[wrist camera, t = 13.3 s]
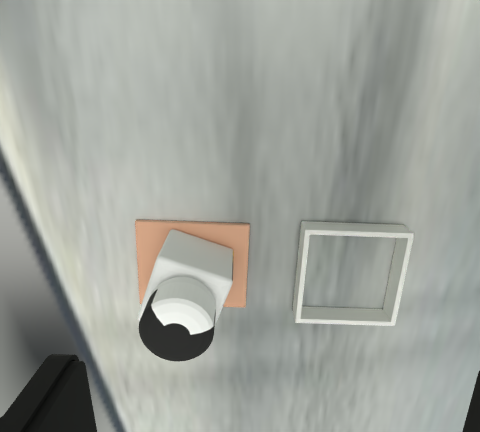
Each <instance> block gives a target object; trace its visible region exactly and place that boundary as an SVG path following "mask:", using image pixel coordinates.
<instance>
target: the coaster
mask: <svg viewBox="0 0 480 432" xmlns="http://www.w3.org/2000/svg"><path fill="white" fill-rule="evenodd" d="M135 227H136V244H137V261H138V278H139V295H140V304H142V301H143V298H144V295H145V292H146V289H147V286H148V283H149V280H150V277H151V274H152V271H153V268H154V265H155V262H156V258H157V256H158V254H159V252H160V250H161V248H162V246H163V244H164V242H165V240H166V238H167V236H168V234H169V231H170V230H172V229H175V230H178V231H181V232H184V233H186V234H189V235H192V236H195V237H198V238H201V239H204V240H207V241H210V242H213V243H216V244H219V245H222V246H225V247H228V248H231V249H233V251H234V258H233V283H232V286H231V288H230V291H229V293H228V296H227V298H226V300H225V303H224V305H223V307H245V306H246V287H247V267H248V248H249V229H250V224H247V223H219V222H192V221H164V220H136V221H135Z"/></svg>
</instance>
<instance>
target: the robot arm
mask: <svg viewBox="0 0 480 432" xmlns="http://www.w3.org/2000/svg"><path fill="white" fill-rule="evenodd" d="M0 432H97V429H96V423H95V417H94V412H93V406H92V400H91V395H90V389H89V383H88V377H87V371H86V366H85V363H84V362H83V361H79V359H78V357H77V356H76V355H60V354H58V355H57V354H52V355H50V356H48V357H47V358H46V359H45V361H44V362H43V364H42V365H41V366H40V368H39V369H38V370H37V372H36V373H35V374H34V376H33V377H32V378H31V380H30V381H29V382H28V384H27V385H26V386H25V388H24V389H23V390H22V392H21V393H20V394H19V396H18V397H17V398H16V400H15V401H14V402H13V404H12V405H11V406H10V408H9V409H8V410H7V412H6V413H5V414H4V416H2V417H1V418H0ZM463 432H480V371H479V373H478V377H477V380H476V384H475V388H474V391H473V395H472V399H471V402H470V406H469V410H468V413H467V417H466V421H465V425H464V428H463Z"/></svg>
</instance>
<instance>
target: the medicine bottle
mask: <svg viewBox="0 0 480 432" xmlns="http://www.w3.org/2000/svg"><path fill="white" fill-rule="evenodd" d="M233 258H234V251H233V249H231V248H228V247H225V246H222V245H219V244H216V243H213V242H210V241H207V240H204V239H201V238H198V237H195V236H192V235H189V234H186V233H184V232H181V231H178V230H175V229H172V230H170V231H169V234H168V236H167V238H166V240H165V242H164V244H163V246H162V248H161V250H160V252H159V254H158V256H157V258H156V262H155V265H154V268H153V271H152V274H151V277H150V280H149V283H148V286H147V289H146V292H145V295H144V298H143V301H142V304H141V307H140V310H139V314H138V321H140V322H139V333H140V337H141V339H142V341H143V343H144V345H145V346H146V347H147V348H148V349H149V350H150V351H151V352H152V353H154V354H155V355H156V356H158V357H160V358H163V359H166V360H169V361H186V360H190V359H193V358H195V357H197V356H199V355H201V354H202V353H203V352H205V351H206V350H207V348H208V347H209V346H210V344H211V342H212V340H213V336H214V327H215V325H216V322H217V320H218V317H219V315H220V312H221V310H222V308H223V305H224V303H225V300H226V298H227V296H228V293H229V291H230V288H231V286H232V283H233Z"/></svg>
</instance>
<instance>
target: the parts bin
mask: <svg viewBox="0 0 480 432" xmlns="http://www.w3.org/2000/svg"><path fill="white" fill-rule="evenodd" d="M310 235H338V236H365V237H393V238H396V244H395V249H394V254H393V259H392V264H391V269H390V274H389V279H388V284H387V289H386V295H385V300H384V305H383V309H368V308H338V307H307V306H302V300H303V291H304V282H305V273H306V264H307V255H308V246H309V237H310ZM413 238H414V233H413V232H412V231H411V230H409V229H408V228H407V227H406V226H405V225H395V224H368V223H340V222H313V221H301V229H300V239H299V249H298V259H297V269H296V279H295V289H294V298H293V308H292V310H293V315H294V319H295V323H319V324H350V325H381V326H395V322H396V318H397V313H398V308H399V304H400V299H401V294H402V290H403V285H404V280H405V275H406V271H407V266H408V261H409V257H410V252H411V247H412V242H413Z"/></svg>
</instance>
